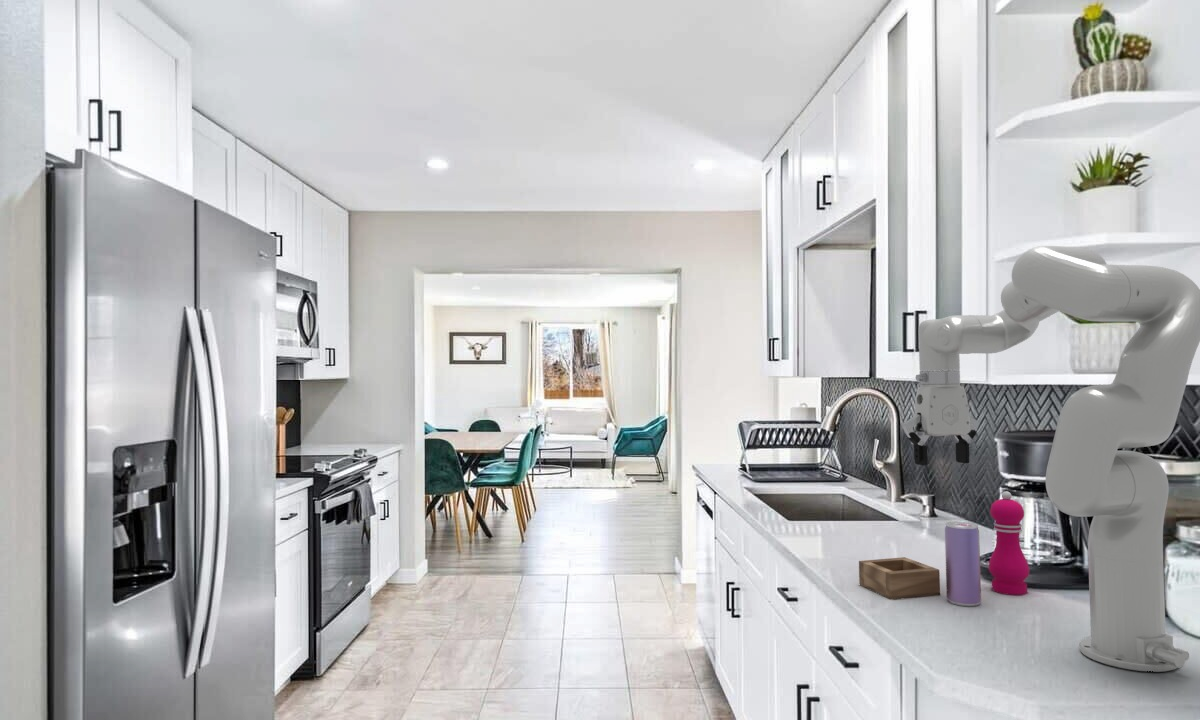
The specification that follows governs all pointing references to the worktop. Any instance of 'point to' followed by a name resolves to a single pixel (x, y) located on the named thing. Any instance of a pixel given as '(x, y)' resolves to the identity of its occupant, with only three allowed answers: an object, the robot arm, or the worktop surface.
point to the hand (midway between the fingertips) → (942, 463)
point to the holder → (899, 578)
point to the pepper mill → (1008, 548)
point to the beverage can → (962, 563)
